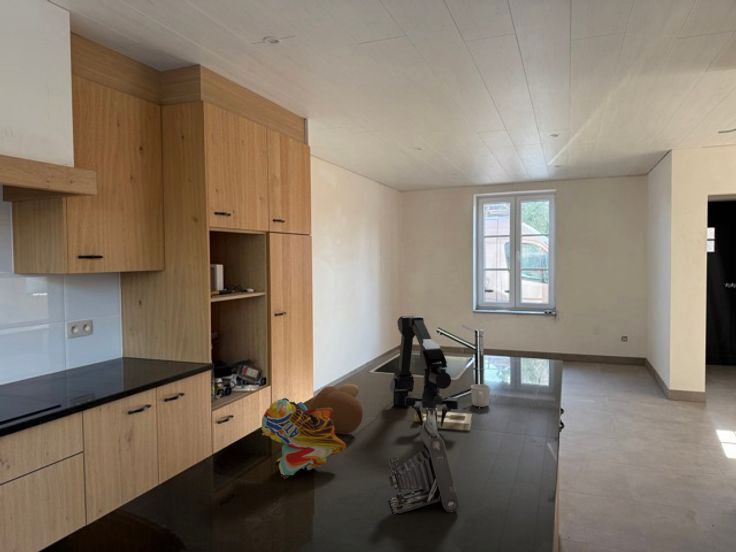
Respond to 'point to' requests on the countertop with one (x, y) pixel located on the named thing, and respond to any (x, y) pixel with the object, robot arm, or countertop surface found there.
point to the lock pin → (417, 417)
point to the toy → (340, 407)
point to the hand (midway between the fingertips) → (431, 425)
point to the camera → (424, 476)
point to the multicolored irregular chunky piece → (301, 435)
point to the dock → (454, 421)
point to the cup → (480, 395)
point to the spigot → (432, 417)
